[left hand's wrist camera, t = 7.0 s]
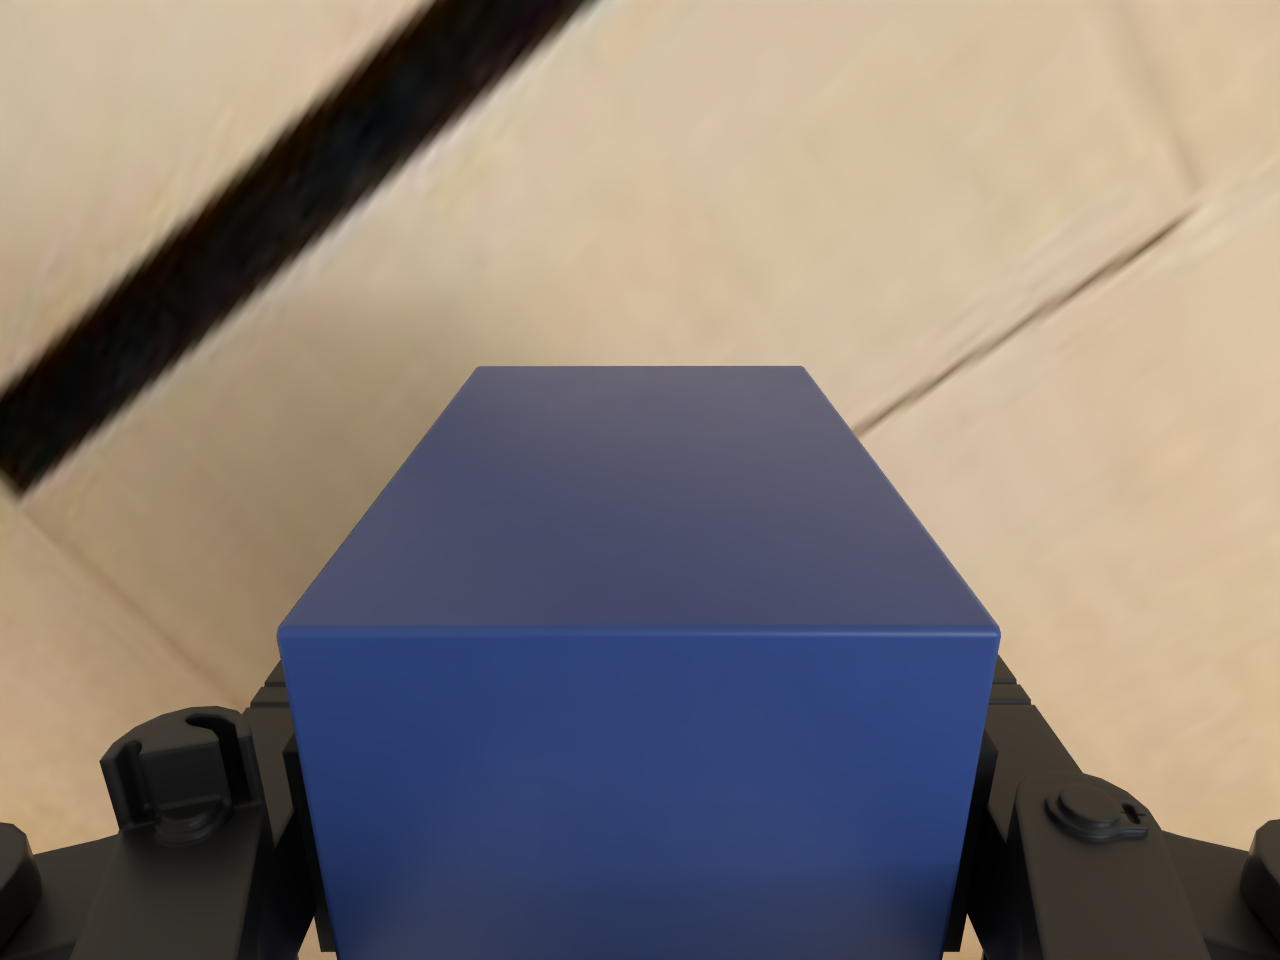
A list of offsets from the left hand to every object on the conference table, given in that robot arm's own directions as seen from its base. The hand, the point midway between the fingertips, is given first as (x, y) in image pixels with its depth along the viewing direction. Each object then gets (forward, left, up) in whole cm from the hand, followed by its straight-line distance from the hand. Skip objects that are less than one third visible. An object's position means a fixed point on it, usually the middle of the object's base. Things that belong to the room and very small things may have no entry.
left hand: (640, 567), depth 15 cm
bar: (+9, 0, -1) cm, 9 cm away
